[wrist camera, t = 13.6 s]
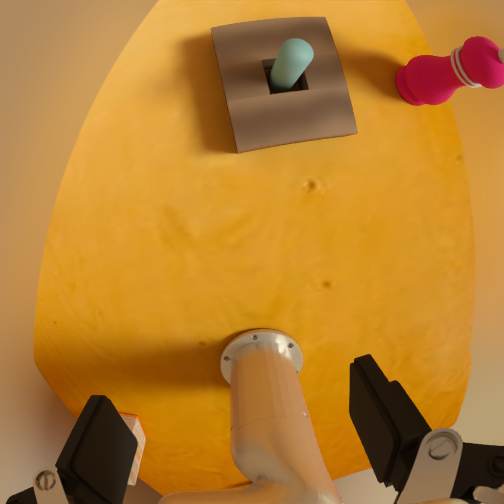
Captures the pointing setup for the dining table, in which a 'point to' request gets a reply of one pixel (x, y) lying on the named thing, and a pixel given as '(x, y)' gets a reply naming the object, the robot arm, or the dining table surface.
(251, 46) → the walnut hole block
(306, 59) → the teal peg
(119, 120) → the dining table surface
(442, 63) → the pepper mill
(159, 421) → the dining table surface
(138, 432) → the supplement box
